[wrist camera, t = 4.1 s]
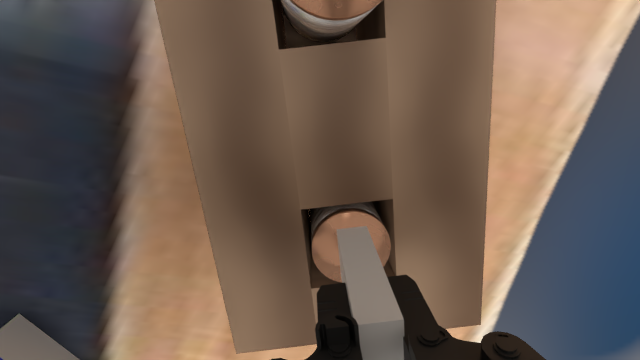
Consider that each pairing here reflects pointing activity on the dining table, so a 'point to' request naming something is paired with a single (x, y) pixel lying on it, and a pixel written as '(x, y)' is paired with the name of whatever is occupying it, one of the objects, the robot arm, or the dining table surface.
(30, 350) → the puzzle toy
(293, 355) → the dining table surface
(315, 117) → the socket block
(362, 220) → the peg
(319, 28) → the peg
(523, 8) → the dining table surface
